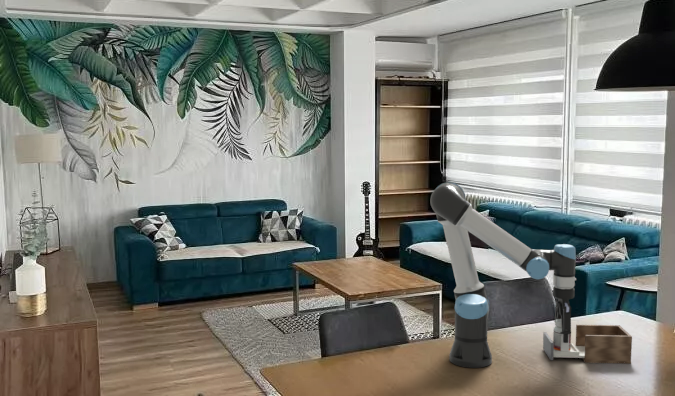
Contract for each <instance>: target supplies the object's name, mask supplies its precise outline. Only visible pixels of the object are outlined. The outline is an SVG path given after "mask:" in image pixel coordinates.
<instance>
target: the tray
mask: <svg viewBox="0 0 675 396" xmlns="http://www.w3.org/2000/svg"><path fill="white" fill-rule="evenodd" d="M542 333H543V338H542V339H543V341H542V349H543V350H544V353H545V354H546V356H547V357H548V358H549V360H550V361H553V360H554V358H569V359H570V358H571V359H572V358H575V359H578V358H579V359H582V358H585V346H576V345H575V344H574V343H572V342H571V349H570V351H555V350H554V342H553V339H552V338H551V337H550V335H549V334H548V333H547V331H543V332H542Z"/></svg>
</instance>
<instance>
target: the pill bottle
mask: <svg viewBox="0 0 675 396" xmlns="http://www.w3.org/2000/svg"><path fill="white" fill-rule="evenodd" d="M554 325H555V326H554V327H553V333H552V334H553V339H552V341H553V342H554V350H555V351H561V334H560V332H562V322H561V319H556V320H555V319H554ZM571 340H572V333H571V334H569V351H570V349H571V343H572V341H571Z"/></svg>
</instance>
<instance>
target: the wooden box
mask: <svg viewBox="0 0 675 396" xmlns="http://www.w3.org/2000/svg"><path fill="white" fill-rule="evenodd" d="M632 345H633V335H631V334H630V333H629V332H628V331H626V329H624V327H622V326H621V325H617V324H576V327H575V346H585V358H581V359H582V360H583V361H584V363H585V364H588V363H589V364H621V365H622V364H623V365H624V364H626V365H629V364H632V349H633V348H632Z"/></svg>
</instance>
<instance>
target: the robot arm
mask: <svg viewBox="0 0 675 396" xmlns="http://www.w3.org/2000/svg"><path fill="white" fill-rule="evenodd" d="M429 201H430V203H429V204H430V206H431V208H432V211H433V212H434V213H435V215H436V219H437V222H438V223H439V224H441V225H442V228H443V232H444V233H443V234H444V238H445V241H446V245H447V249H448V253H449V259H450V263H451V267H452V271H453V276H454V279H455V285H456V286H455V288H454V289H453V293H454V298H455V302H454V303H455V304H454V339H453V340H454V341H453V343H452V346H451V349H450V351H449V362H450V363H452V364H453V365H455V366H458V367H463V368H470V369H473V368H474V369H477V368H478V369H479V368H485V367H488V366H490V365H492V363H493V356H492V353H491V350H490V346H489V342H488V321H489V318H488V317H489V311H490V305H491V304H490V300H489V298H488V295H487V291H486V287H485V284H484V283H482V282H481V281H480V280H479V276H478V272H477V271H478V270H477V267H476V261H475V258H474V253H473V250H472V249H473V248H472V244H471V241H470V240H471V239H470V235H469V233H470V234H472V235H473V236H475V237H476V238H477V239H479V240H480V241H482V242H483V243H485V244H486V245H487V246H489V247H490V248H492V249H493V250H495V251H496V252H498V253H500V255H502V256H503V257H505V258H506V259H508V260H509V261H511V262H512V263H514V264H515V265H517V266H518V267H520V268H521V269H522V270H523V271H525V272H526V273H527V274H528V276H529V277H531V278H532V279H534V280H542V279H544V278H546V277H547V276H548V274H549V272H550V271H553V275H552V276H553V277H552V283H553V284H552V285H553V286H552V296H553V297H554V298H555V312H554V313H555V314H554V321H555V320H556V319H561V322H562V332H560V334H561V351H569V334H571V335H572V306H571V303H570V301H569V300H572V299H574V298H575V286H576V283H575V281H577V277H575V276H576V261H577V258H576V257H577V256H576V253H577V252H576V251H577V250H576V247H575V246H574V245H572V244H566V243H563V244H555V245H554V247H553V249H538V248H537V249H533V248H531V247H529V246H527V245H526V244H525V243H523V242H522V241H520V240H519V239H518V238H516V237H514V236H513V235H512V234H510V233H509V232H507V231H506V230H505V229H503V228H501V227H500V226H499V225H497V224H496V223H494V222H493V221H491V220H490V219H488V218H487V217H486V216H484V215H483V214H482V213H479V211H477V210H476V209H474V208H473V205H472V204H471V203H470V202H469V201H467V200H466V193H465V191H464V190H463V188H462V187H461V186H460V185H459V184H457V183H455V182H444V183H441V184H439V185H437V187H436V188H435V189H434V190H433V191H432V193H431V195H430V200H429Z"/></svg>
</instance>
